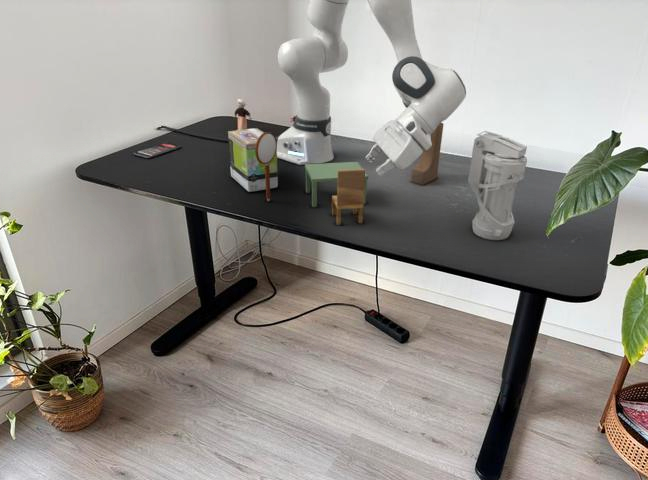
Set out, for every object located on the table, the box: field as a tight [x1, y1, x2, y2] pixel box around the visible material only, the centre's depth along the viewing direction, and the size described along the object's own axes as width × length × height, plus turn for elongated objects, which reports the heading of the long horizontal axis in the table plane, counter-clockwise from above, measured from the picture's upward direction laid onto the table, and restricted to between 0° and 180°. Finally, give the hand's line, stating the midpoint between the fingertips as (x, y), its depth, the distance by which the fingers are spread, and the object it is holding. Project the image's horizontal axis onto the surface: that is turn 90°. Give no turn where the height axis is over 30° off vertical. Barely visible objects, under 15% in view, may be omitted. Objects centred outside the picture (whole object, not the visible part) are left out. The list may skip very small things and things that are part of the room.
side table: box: [304, 161, 369, 208], centre depth 157 cm, size 12×16×8 cm
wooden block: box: [410, 122, 445, 186], centre depth 169 cm, size 9×4×18 cm, turn 141°
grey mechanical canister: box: [467, 130, 528, 241], centre depth 137 cm, size 13×10×25 cm
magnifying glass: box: [255, 131, 277, 202], centre depth 150 cm, size 9×2×20 cm, turn 149°
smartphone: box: [133, 141, 181, 159], centre depth 188 cm, size 7×1×15 cm
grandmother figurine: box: [233, 98, 253, 130], centre depth 208 cm, size 8×4×13 cm, turn 81°
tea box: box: [227, 127, 279, 193], centre depth 163 cm, size 15×10×15 cm, turn 31°
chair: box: [331, 168, 366, 226], centre depth 143 cm, size 7×7×15 cm
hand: (372, 166), depth 138 cm, fingers open, 8 cm apart
